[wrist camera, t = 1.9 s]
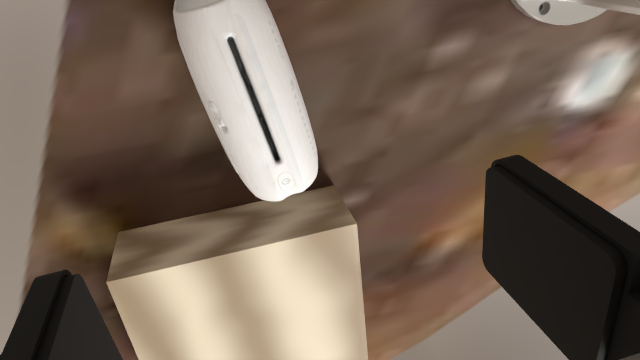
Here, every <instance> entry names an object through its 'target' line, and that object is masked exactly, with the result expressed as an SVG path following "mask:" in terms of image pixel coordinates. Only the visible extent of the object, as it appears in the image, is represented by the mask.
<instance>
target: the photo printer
mask: <svg viewBox="0 0 640 360" xmlns="http://www.w3.org/2000/svg"><path fill="white" fill-rule="evenodd" d="M173 16H174V23H175V27H176V32H177V38H178V41H179V44H180V47H181V50H182V52H183V55H184V58H185V60H186V63H187V66H188V69H189V71H190V74H191V76H192V79H193V81H194V83H195V86H196V88H197V91H198V93H199V95H200V98H201V100H202V102H203V105H204V107H205V109H206V112H207V114H208V116H209V118H210V121H211V123H212V125H213V127H214V129H215V132H216V134H217V136H218V138H219V140H220V142H221V144H222V146H223V148H224V150H225V152H226V154H227V156H228V158H229V160H230V162H231V164H232V165H233V167H234V169H235V171H236V172H237V173H238V175H239V177H240V178H241V180H242V181H243V182H244V184H245V185H246V186H247V188H248V189H249V190H250V191H251V192H252V193H253V194H254V195H255V196H256V197H258V198H260V199H262V200H266V201H276V202H277V201H281V200H283V199H285V198H286V197H288V196H290V195H292V194H296V193H300V192H303V191H304V190H306V189H307V188H308V187H309V186H310V185H311V184H312V183H313V181H314V180H315V178H316V176H317V173H318V155H317V148H316V143H315V139H314V135H313V132H312V128H311V125H310V121H309V118H308V114H307V111H306V108H305V104H304V101H303V98H302V95H301V92H300V89H299V86H298V83H297V80H296V77H295V74H294V71H293V68H292V66H291V63H290V60H289V57H288V55H287V52H286V49H285V46H284V44H283V41H282V39H281V36H280V33H279V31H278V28H277V26H276V23H275V21H274V18H273V16H272V13H271V11H270V9H269V7H268V5H267V3H266V1H265V0H175V2H174V9H173Z"/></svg>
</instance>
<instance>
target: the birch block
mask: <svg viewBox="0 0 640 360" xmlns="http://www.w3.org/2000/svg"><path fill="white" fill-rule="evenodd" d="M106 283H107V285H108V288H109V290H110V293H111V295H112V297H113V300H114V302H115V304H116V307H117V309H118V312H119V314H120V316H121V319H122V321H123V323H124V326H125V328H126V330H127V333H128V335H129V338H130V340H131V342H132V345H133V347H134V349H135V352H136V354H137V357H138V359H139V360H368V354H367V341H366V329H365V317H364V305H363V293H362V281H361V269H360V256H359V244H358V232H357V223H356V222H355V220H354V218H353V216H352V215H351V213H350V211H349V210H348V208H347V206H346V205H345V203H344V201H343V200H342V198H341V196H340V194H339V193H338V191H337V189H336V188H335V186H334V185H333V186H328V187H324V188H319V189H315V190H310V191H305V192H301V193H296V194H292V195H290V196H288V197H286V198H285V199H283V200H281V201H277V202H276V201H266V200H264V201H259V202H255V203H250V204H246V205H241V206H236V207H232V208H227V209H223V210H218V211H213V212H209V213H204V214H200V215H195V216H190V217H186V218H181V219H177V220H172V221H167V222H163V223H158V224H154V225H149V226H144V227H140V228H135V229H131V230H126V231H121V232H118V234H117V239H116V243H115V247H114V251H113V256H112V260H111V264H110V268H109V273H108V277H107V281H106Z"/></svg>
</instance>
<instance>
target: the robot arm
mask: <svg viewBox="0 0 640 360" xmlns="http://www.w3.org/2000/svg"><path fill="white" fill-rule="evenodd" d="M510 1H511V2H512V3H513V5H514V6H515V7H516V8H517V9H518V10H520V11H521V12H522V13H524V14H525V15H526V16H528V17H530V18H533V19H535V20H537V21H540V22H545V23H549V24H553V25H571V24H576V23H580V22H584V21H587V20H589V19H591V18H594V17H596V16H598V15H600V14H602V13H603V12H605V11H606V10H608V9H609V10H615V11H621V12H626V13H632V14H638V15H640V0H510ZM482 259H483V263H484V265H485V267H486V269H487V271H488V272H489V273H490V274H491V275H492V276H493V277H494V278H495V280H496V281H497V282H498V283H499V284H500V285H501V286H502V287H503V288H504V289H505V290H506V292H507V293H508V294H509V295H510V296H511V297H512V298H513V299H514V300H515V301H516V302H517V303H518V305H519V306H520V307H521V308H522V309H523V310H524V311H525V312H526V313H527V314H528V315H529V317H530V318H531V319H532V320H533V321H534V322H535V323H536V324H537V325H538V326H539V327H540V329H541V330H542V331H543V332H544V333H545V334H546V335H547V336H548V337H549V338H550V339H551V341H552V342H553V343H554V344H555V345H556V346H557V347H558V348H559V349H560V350H561V352H562V353H563V354H564V355H565V356H566V357H567V358H568V359H569V360H640V232H639V231H637V230H636V229H634V228H633V227H631V226H629V225H628V224H626V223H625V222H623V221H621V220H620V219H618V218H617V217H615V216H614V215H612V214H611V213H609V212H608V211H606V210H605V209H603V208H602V207H600V206H598V205H597V204H595V203H594V202H592V201H591V200H589V199H588V198H586V197H584V196H583V195H581V194H580V193H578V192H577V191H575V190H574V189H572V188H570V187H569V186H567V185H566V184H564V183H563V182H561V181H560V180H558V179H556V178H555V177H553V176H552V175H550V174H549V173H547V172H546V171H544V170H542V169H541V168H539V167H538V166H536V165H535V164H533V163H532V162H530V161H528V160H527V159H525V158H524V157H522V156H520V155H514V156H510V157H506V158H502V159H498V160H495V161H494V162H493V163H492V165H491V168H489V169H487V171H486V183H485V206H484V229H483V251H482ZM0 360H123V359H122V357H121V355H120V353H119V351H118V349H117V347H116V345H115V343H114V341H113V339H112V337H111V335H110V333H109V331H108V329H107V327H106V325H105V323H104V321H103V319H102V316H101V314H100V312H99V310H98V308H97V306H96V304H95V302H94V300H93V298H92V296H91V294H90V292H89V290H88V288H87V286H86V284H85V282H84V280H83V278H82V277H81V275H80V274H74V275H72V274H71V273H70V272H69V271H68V270H62V271H58V272H54V273H50V274H46V275H43V276H39V277H36V278H35V279H34V281H33V283H32V285H31V288H30V290H29V292H28V294H27V297H26V299H25V301H24V304H23V306H22V308H21V311H20V313H19V315H18V317H17V320H16V322H15V324H14V327H13V329H12V331H11V334H10V336H9V338H8V341H7V343H6V345H5V347H4V350H3V352H2V354H1V355H0Z"/></svg>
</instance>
